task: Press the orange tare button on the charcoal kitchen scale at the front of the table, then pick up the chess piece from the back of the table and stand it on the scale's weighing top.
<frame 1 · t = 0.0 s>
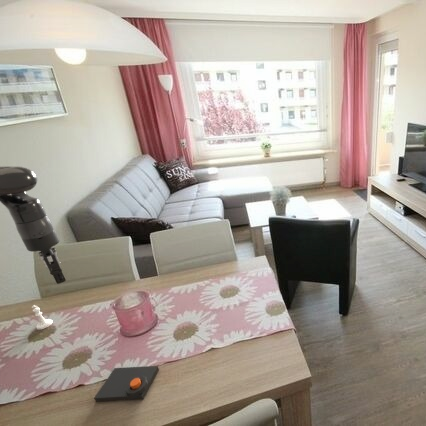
hand: (59, 276, 94), 31 cm above the table, tool pointing down, fingers open, 8 cm apart
chess piece: (44, 325, 117), on the table
scale: (129, 385, 92), on the table
tare button: (135, 383, 88), point 4 cm above the table, slide at 0.1 cm
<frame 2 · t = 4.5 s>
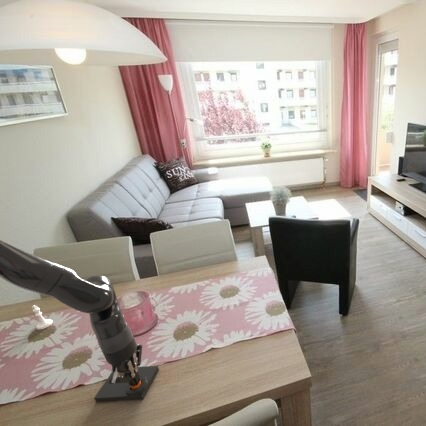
hand: (135, 383, 88), 4 cm above the table, tool pointing down, fingers closed
tare button: (136, 384, 88), point 3 cm above the table, slide at -0.4 cm, touching gripper
everything else where it was.
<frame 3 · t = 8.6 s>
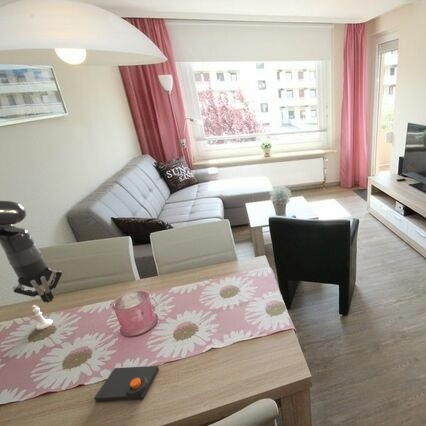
hand: (49, 300, 102), 18 cm above the table, tool pointing down, fingers closed
tare button: (135, 383, 88), point 4 cm above the table, slide at 0.1 cm
everything else where it was.
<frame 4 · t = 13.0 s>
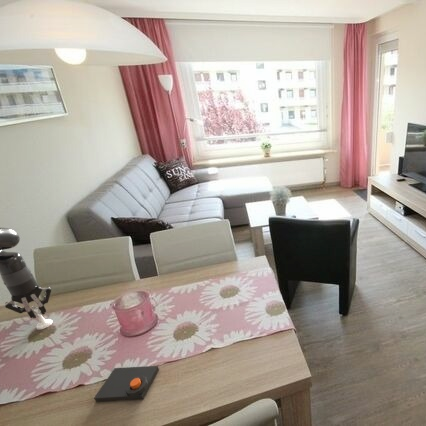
hand: (39, 315, 115), 5 cm above the table, tool pointing down, fingers closed on chess piece
chess piece: (44, 325, 117), on the table, touching gripper
everything else where it was.
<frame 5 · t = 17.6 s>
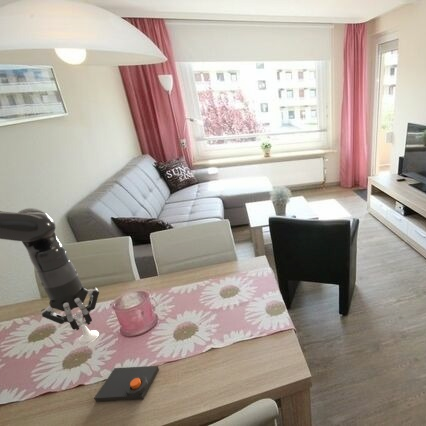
hand: (82, 325, 87), 21 cm above the table, tool pointing down, fingers closed on chess piece
chess piece: (89, 338, 89), point 16 cm above the table, touching gripper
everything else where it was.
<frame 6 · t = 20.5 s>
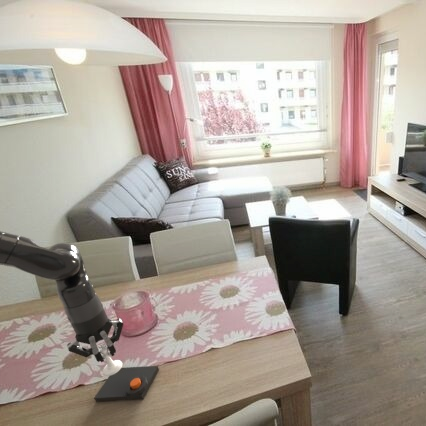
hand: (107, 357, 86), 13 cm above the table, tool pointing down, fingers closed on chess piece
chess piece: (113, 369, 89), point 8 cm above the table, touching gripper
everything else where it was.
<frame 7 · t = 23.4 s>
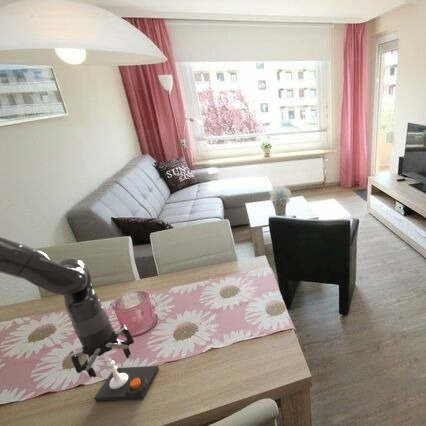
hand: (111, 365, 88), 9 cm above the table, tool pointing down, fingers open, 8 cm apart
chess piece: (119, 381, 91), point 2 cm above the table, touching scale
everything else where it was.
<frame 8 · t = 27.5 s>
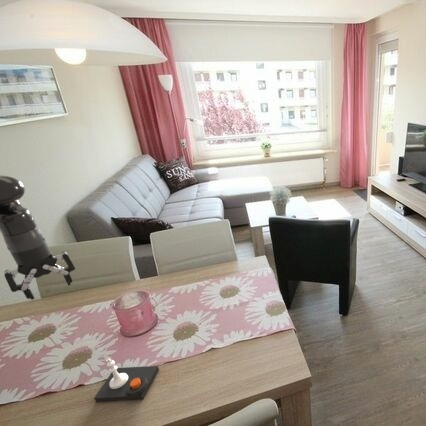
hand: (51, 290, 88), 30 cm above the table, tool pointing down, fingers open, 8 cm apart
nothing on the table moved.
at the end: tare button pushed in 0.9 cm at the most during the clip, back to where it started at the end; chess piece inside the target area on the scale (2.6 cm from its centre), point 1.7 cm above the scale's base; chess piece touching scale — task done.
